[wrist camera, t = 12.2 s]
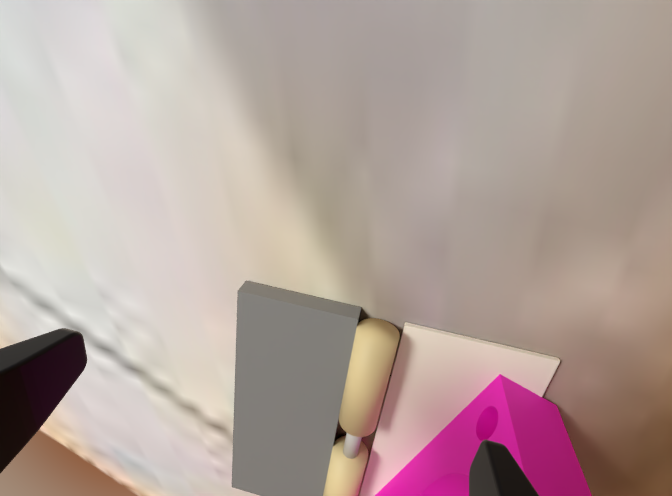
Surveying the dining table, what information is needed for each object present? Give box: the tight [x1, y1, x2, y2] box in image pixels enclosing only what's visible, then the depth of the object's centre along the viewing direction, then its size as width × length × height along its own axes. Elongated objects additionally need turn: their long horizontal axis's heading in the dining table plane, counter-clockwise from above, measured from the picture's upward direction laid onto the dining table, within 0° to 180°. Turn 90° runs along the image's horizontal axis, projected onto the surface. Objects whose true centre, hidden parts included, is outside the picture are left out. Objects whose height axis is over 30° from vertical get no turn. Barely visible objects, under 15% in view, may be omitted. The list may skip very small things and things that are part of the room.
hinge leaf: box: [232, 281, 400, 496], centre depth 26 cm, size 9×18×2 cm, turn 172°
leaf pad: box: [359, 322, 560, 496], centre depth 26 cm, size 8×17×1 cm, turn 172°
